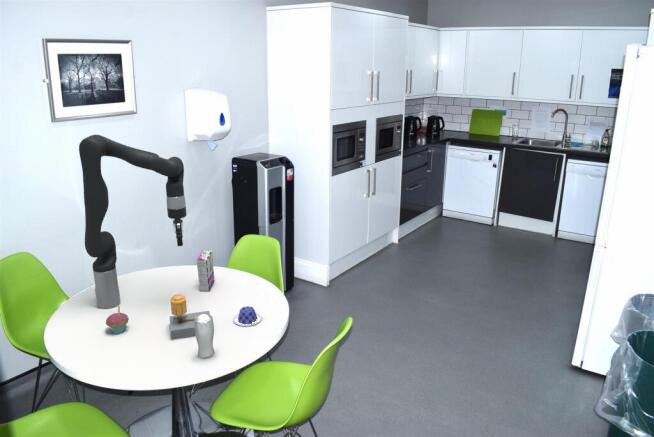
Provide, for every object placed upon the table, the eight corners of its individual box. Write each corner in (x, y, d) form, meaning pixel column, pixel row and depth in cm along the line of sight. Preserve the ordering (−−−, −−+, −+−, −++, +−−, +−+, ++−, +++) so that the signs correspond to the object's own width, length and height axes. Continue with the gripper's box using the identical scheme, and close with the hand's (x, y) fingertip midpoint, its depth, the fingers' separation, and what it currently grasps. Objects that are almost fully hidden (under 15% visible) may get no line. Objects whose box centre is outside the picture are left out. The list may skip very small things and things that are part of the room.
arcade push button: (172, 316, 204) (170, 300, 202) (171, 309, 210) (170, 294, 208) (187, 314, 206) (185, 298, 204) (186, 307, 211) (185, 292, 209)
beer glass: (198, 349, 198) (195, 314, 193) (216, 348, 198) (214, 313, 194) (195, 359, 191) (192, 323, 186) (214, 358, 192) (211, 322, 187)
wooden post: (177, 323, 208) (175, 303, 205) (177, 321, 210) (175, 301, 207) (183, 322, 209) (181, 302, 206) (182, 320, 210) (180, 300, 208)
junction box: (171, 339, 204) (170, 328, 202) (170, 324, 215) (169, 314, 213) (212, 333, 209) (212, 322, 207) (209, 319, 219) (209, 308, 218)
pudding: (228, 318, 221) (227, 307, 219) (253, 310, 227) (253, 299, 226) (240, 330, 211) (240, 319, 210) (267, 322, 218) (266, 310, 216)
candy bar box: (204, 281, 254) (202, 250, 249) (214, 281, 254) (212, 250, 249) (198, 291, 244) (196, 259, 238) (209, 291, 244) (207, 259, 238)
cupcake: (134, 326, 213) (131, 300, 209) (120, 337, 206) (116, 310, 202) (117, 323, 216) (113, 297, 212) (102, 333, 208) (98, 306, 204)
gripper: (166, 201, 221) (169, 237, 226) (167, 211, 208) (171, 249, 213) (184, 200, 223) (187, 235, 228) (186, 209, 210) (190, 247, 215)
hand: (179, 242), depth 221 cm, fingers open, 8 cm apart
